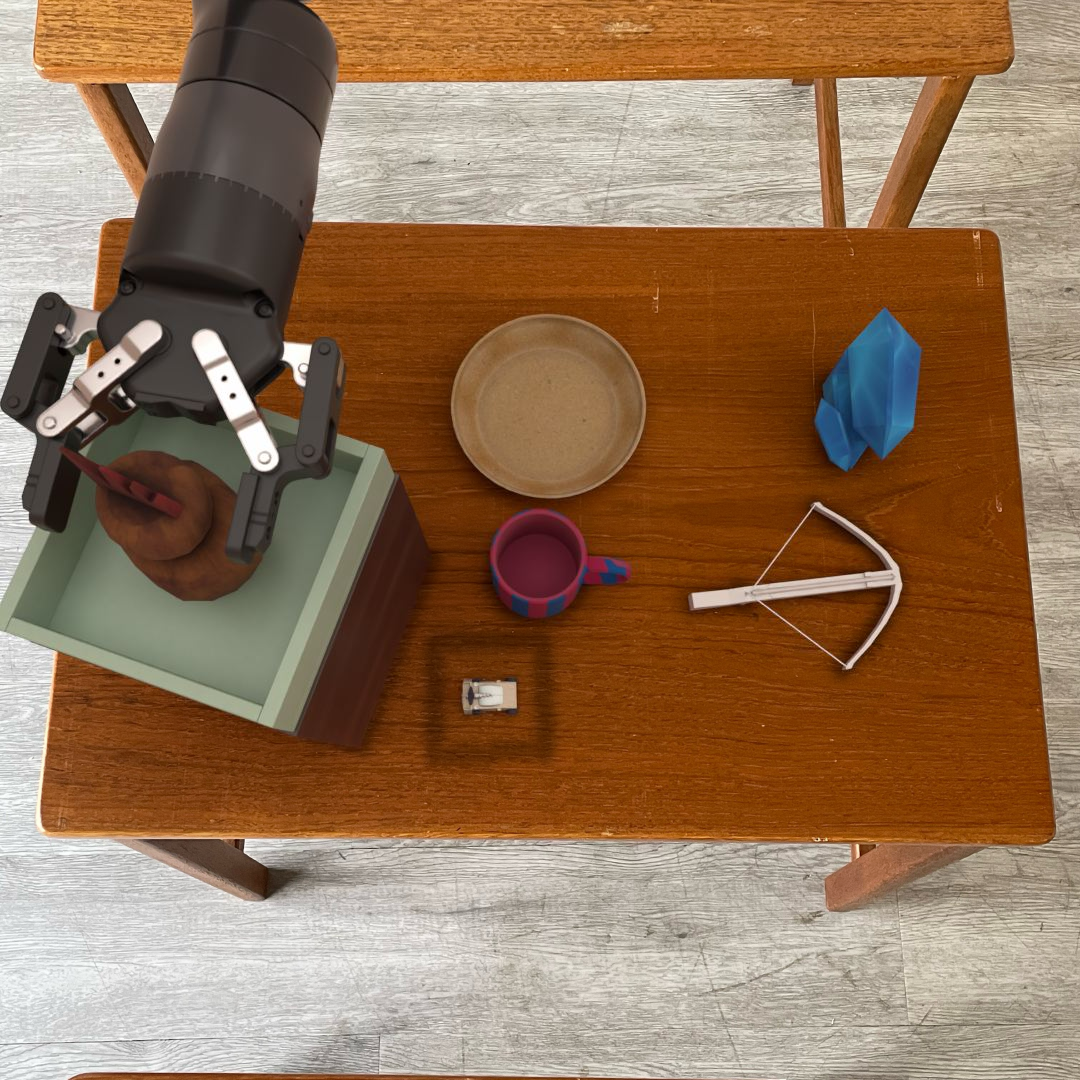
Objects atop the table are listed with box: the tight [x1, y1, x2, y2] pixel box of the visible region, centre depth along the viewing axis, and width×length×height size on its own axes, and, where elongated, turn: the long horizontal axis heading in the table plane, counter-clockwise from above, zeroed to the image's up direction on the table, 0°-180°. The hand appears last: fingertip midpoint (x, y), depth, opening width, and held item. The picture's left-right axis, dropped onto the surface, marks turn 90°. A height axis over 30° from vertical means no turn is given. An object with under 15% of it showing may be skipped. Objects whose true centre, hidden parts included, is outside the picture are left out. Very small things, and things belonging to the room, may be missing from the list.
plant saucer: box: [450, 313, 647, 499], centre depth 80 cm, size 15×15×3 cm
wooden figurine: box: [59, 446, 263, 601], centre depth 47 cm, size 7×6×15 cm
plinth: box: [29, 471, 433, 749], centre depth 66 cm, size 15×15×22 cm
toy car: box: [460, 676, 519, 716], centre depth 75 cm, size 3×4×2 cm, turn 92°
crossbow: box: [687, 501, 904, 671], centre depth 77 cm, size 16×13×2 cm
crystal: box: [813, 306, 922, 473], centre depth 78 cm, size 7×9×12 cm
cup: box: [489, 508, 632, 619], centre depth 75 cm, size 7×10×7 cm
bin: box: [0, 384, 394, 732], centre depth 53 cm, size 15×15×5 cm
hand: (142, 545), depth 45 cm, fingers open, 8 cm apart
